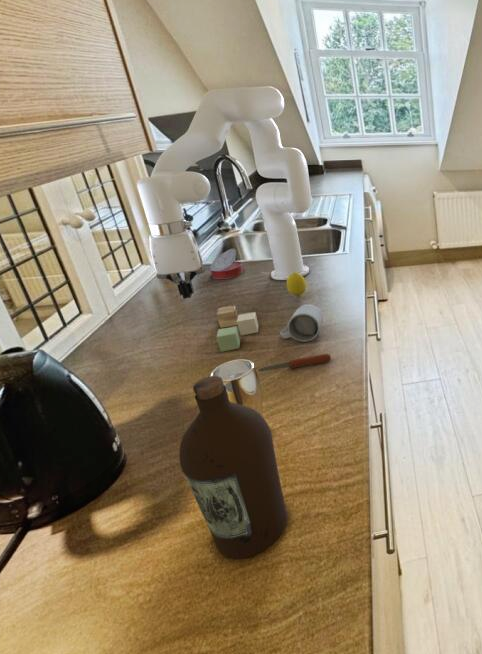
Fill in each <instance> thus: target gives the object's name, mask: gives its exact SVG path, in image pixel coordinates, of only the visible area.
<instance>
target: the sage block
mask: <svg viewBox="0 0 482 654" xmlns="http://www.w3.org/2000/svg"><path fill="white" fill-rule="evenodd" d="M216 341H217V344H218V345H217V346H218V348H219V351H220V353H221V352H227V351H228V352H229V351H233V350H237V349H240V347H241V342H242V341H241V337H240V332H239V328H238V325H235V326H230V327H224V328H218V330H217V333H216Z"/></svg>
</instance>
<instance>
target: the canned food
mask: <svg viewBox="0 0 482 654" xmlns="http://www.w3.org/2000/svg"><path fill="white" fill-rule="evenodd" d="M236 258H237V250H236V249H235V248H230V249H227V250H226V251H224V252H222V253H221V254H220V255H219V256H218V257H216V258H215V259H214V260H213V261H212V262H211V264H210V267H209V270H210V273H211V277H212V278H213V279H214V280H227V279H232V278H236V277H238V276H240V275H242V274H243V272H244V270H243V266H242V263H241V262H240V261H236Z"/></svg>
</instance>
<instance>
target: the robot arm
mask: <svg viewBox="0 0 482 654" xmlns="http://www.w3.org/2000/svg"><path fill="white" fill-rule="evenodd" d="M284 110H285V100H284V97H283V94H282V93H281V92H280V91H279V90H278V89H277V88H276V87H273V86H270V85H261V86H240V87H227V88H226V87H225V88H213V89H210V90H207V91H206V92H205V93H204V95H203V97H202V98H201V100H200V103H199V105H198V107H197V109H196V112H195V114H194V116H193V118H192V121H191V122H190V124H189V127H188V129H187V130H186V132H185V133H183V134H182V135H181V136H179V137H178V138H177V139H176V140H175V141H174V142H173V143H172V144H170V145H169V146H168V147H167V148H166V149H164V150H163V152H161V154H160V156H159V157H158V159H157V161H156V163H155V165H154V167H153V169H152V171H151V174H150V176H147V177H146V176H145V177H142V178H139V179H138V180H137V182H136V187H137V190H138V194H139V197H140V201H141V204H142V207H143V209H144V210H143V211H144V213H145V217H146V220H147V223H148V227H149V230H150V235H149V237H148V238H149V239H148V241H149V250H150V256H151V260H152V264H153V268H154V271H155V273H156V278H157V279H159V280H169V281H170V282H172V283H174V284H175V285H176V286H177V290H178V293H179V295H180V296H182V299H184V300H186V299H191V298H192V295H193V294H194V293H195V290H194V286H193V283H192V280H193V279H194V278H195V277H196V276H198V275H201V274H204V273H205V271H206V268H205V267H204V265H203V263H204V262H203V256H202V253H201V250H200V247H199V245H198V242H197V240H196V238H195V235H194V233H193V231H192V230H191V229H188V228H190V227H193V222H192V221H191V220H186V218H185V216H184V214H183V210H182V206H181V204H186V203H197V202H201V201H203V200H205V199H206V198H208V196H209V195H210V193H211V183H210V181H209V179H208V177H206V176H205V175H204V174H203V173H200V172H196V171H189V170H188V169H189V168H190V167H191V166H193V165H194V164H195V163H197V162H199V161H201V160H204V159H206V158H209V157H210V156H211V157H212V156H213V155H216V154H217V153H218V152H220V151H221V150H222V148H223V147H224V144H225V141H226V139H227V136H228V134H229V132H230V129H231V127H232V125H233V124H234V123H238V122H241V123H243V124H244V126H245V127H246V129H247V130H248V133H249V136H250V140H251V145H252V152H253V158H254V163H255V168H256V171H257V173H258V174H259V175H260V176H261V177H262V178H266V179H285V180H286V182H278V181H277V182H276V181H275V182H265V183H263V184H261V185H259V186H258V187H257V189H256V191H255V201H256V204H257V206H258V209H259V211H260V213H261V216H262V218H263V222H264V226H265V232H266V234H267V240H268V245H269V248H270V249H269V250H270V254H271V258H272V263H273V269H274V270H272V271H271V272H270V277H271V279H273V280H275V281H276V280H277V281H287V278H288V277H289V276H290V275H291V274H293V273H294V272H295V273H298V274H300V275H302V276H303V277H305V276H306V275H308V274H309V273H310V268H309V266H307V265H305V264H304V261H303V255H302V249H301V244H300V239H299V233H298V228H297V223H296V221H295V219H294V217H293V215H292V214H302V213H306V212H308V211H309V209H311V206H312V192H311V191H312V190H311V183H310V175H309V167H308V162H307V159H306V157H305V154H303V152H302V151H301V150H300V149H298V148H295V147H290V146H289V147H286V146H283V145H282V139H281V135H280V131H279V128H278V125H277V124H276V123H275V121H274V120H273V119H275V118H278V117H280V116H281V115H282V113H284ZM187 170H188V171H187ZM181 274H183V276H184V279H183V278H182V276H181Z"/></svg>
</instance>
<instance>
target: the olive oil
mask: <svg viewBox="0 0 482 654" xmlns="http://www.w3.org/2000/svg"><path fill="white" fill-rule="evenodd" d="M192 389H193V392H194V394H195V396H194V399H195V401H196V405H197V407H198V410H199V413H198V414H197V415H196V417H195V418H194V419H193V420H192V422H191V423H190V425H189V426H188V427H187V428H186V430H185V432H184V434H183V435H182V437H181V441H180V445H179V455H178V456H179V457H178V458H179V465H180V467H181V468H180V469H181V473H182V474H183V476H184V477H185V479H186V482H187V483H188V486H189V488H190V490H191V493H192V494H193V497H194V499H195V501H196V503H197V505H198V508H199V510H200V512H201V514H202V516H203V519H204V521H205V523H206V525H207V528H208V530H209V532H210V534H211V537H212V539H213V541H214V544H215V546H216V548H217V550H218V552H219V553H220V554H221V555H222V556H224V557H226V558H229V559H235V560H237V559H238V560H240V559H241V560H242V559H247V558H250V557H253V556H256V555H258V554H260V553H262V552H264V551H265V550H267V549H268V548H269V547H271V546H272V545H273V544H274V543H275V542H276V541H277V540H278V539H279V538H280V537H281V535H282V534H283V532H284V530H285V529H286V526H287V522H288V512H287V507H286V502H285V498H284V494H283V489H282V484H281V479H280V473H279V468H278V463H277V458H276V452H275V447H274V442H273V435H272V431H271V428H270V425H269V424H268V422H267V421H266V419H265V418H263V417H264V416H263V417H262V416H261V415H260V414H259V413H258V412H257V411H255V410H254V409H252V408H249V407H246V406H243V405H240V404H236V403H233V402H230V401H229V398H228V394H227V390H226V387H225V386H224V385H223V380H222V378H221V377H219V376H211V375H209V376H207V377H204V378H201V379H199V380H198V381H196V382H195V383H194V385H193V387H192Z"/></svg>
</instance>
